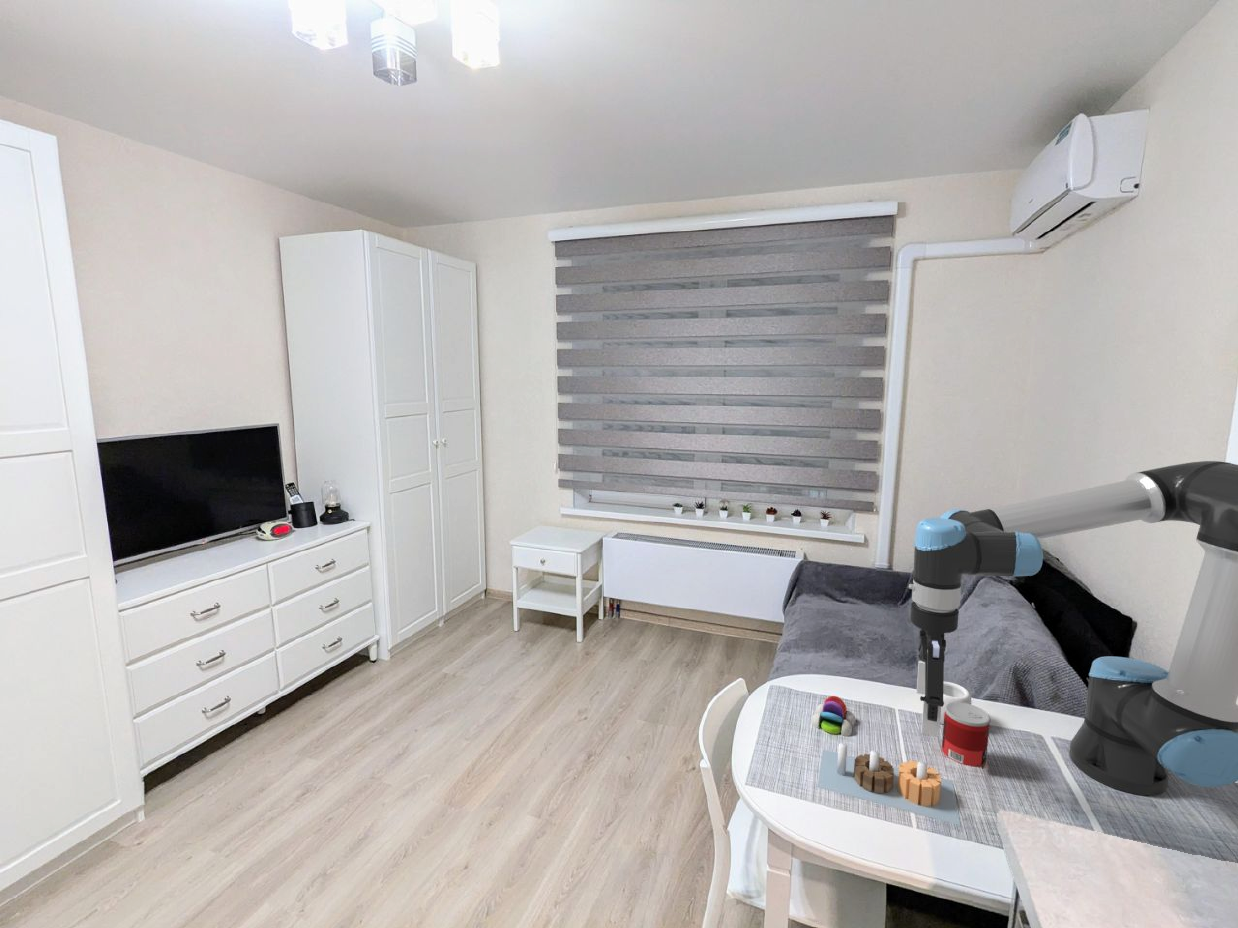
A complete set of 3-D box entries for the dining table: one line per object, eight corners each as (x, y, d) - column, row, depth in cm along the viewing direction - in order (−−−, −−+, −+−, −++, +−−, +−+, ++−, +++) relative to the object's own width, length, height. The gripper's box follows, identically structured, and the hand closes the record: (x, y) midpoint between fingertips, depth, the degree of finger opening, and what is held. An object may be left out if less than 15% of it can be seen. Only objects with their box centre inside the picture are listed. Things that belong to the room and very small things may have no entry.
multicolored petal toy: (856, 723, 132) (858, 694, 131) (848, 746, 124) (850, 716, 123) (819, 712, 137) (820, 684, 136) (808, 734, 129) (810, 704, 128)
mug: (977, 731, 129) (980, 699, 127) (940, 731, 129) (942, 700, 127) (947, 700, 141) (950, 671, 139) (913, 701, 141) (915, 671, 139)
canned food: (991, 775, 115) (996, 725, 113) (948, 770, 117) (952, 721, 115) (976, 750, 122) (981, 703, 121) (935, 746, 124) (939, 699, 122)
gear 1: (892, 772, 114) (893, 759, 113) (893, 797, 107) (894, 783, 107) (854, 763, 116) (855, 750, 116) (853, 786, 110) (853, 772, 110)
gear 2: (937, 785, 110) (939, 766, 110) (941, 811, 104) (942, 791, 103) (897, 775, 113) (898, 757, 113) (898, 799, 107) (899, 780, 106)
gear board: (952, 787, 112) (955, 753, 110) (959, 832, 101) (963, 795, 100) (822, 755, 121) (824, 723, 120) (817, 793, 111) (818, 758, 109)
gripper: (908, 578, 115) (902, 675, 118) (915, 630, 93) (907, 748, 96) (950, 583, 112) (943, 682, 115) (968, 638, 90) (959, 759, 93)
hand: (927, 712), depth 106 cm, fingers open, 13 cm apart
